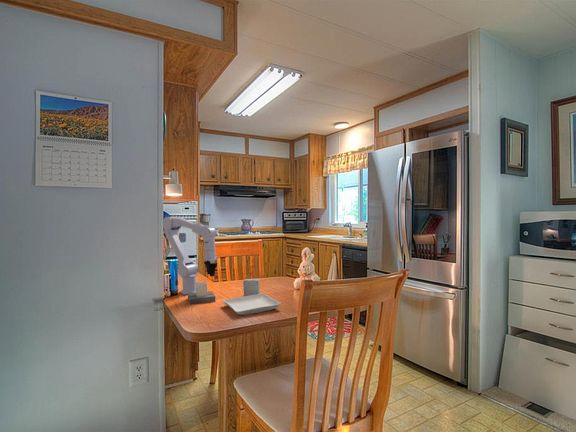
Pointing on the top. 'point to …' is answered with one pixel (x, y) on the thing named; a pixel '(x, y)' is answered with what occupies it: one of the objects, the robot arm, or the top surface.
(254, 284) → the medicine box
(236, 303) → the salad plate
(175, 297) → the top surface
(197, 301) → the slate panel
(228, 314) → the top surface
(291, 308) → the top surface
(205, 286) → the cream block
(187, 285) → the robot arm
